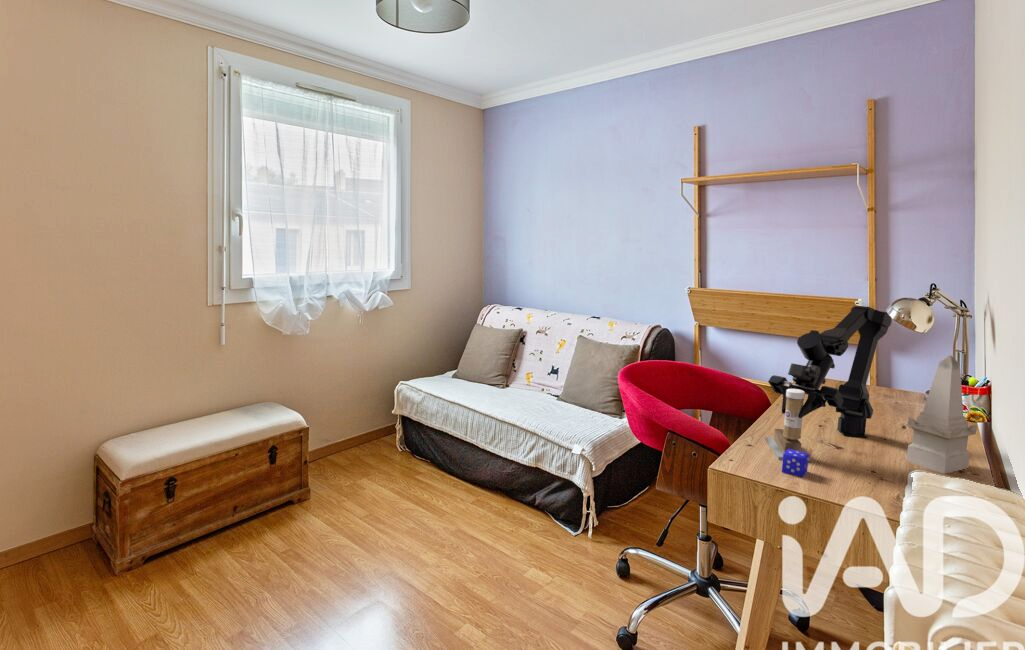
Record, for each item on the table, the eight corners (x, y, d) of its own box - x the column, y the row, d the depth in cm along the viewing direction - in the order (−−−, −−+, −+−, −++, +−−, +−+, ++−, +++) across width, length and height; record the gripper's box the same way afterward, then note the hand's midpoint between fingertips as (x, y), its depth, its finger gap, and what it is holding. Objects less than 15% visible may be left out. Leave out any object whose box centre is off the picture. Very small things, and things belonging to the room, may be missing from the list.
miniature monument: (970, 469, 144) (986, 357, 140) (944, 474, 140) (959, 359, 136) (928, 455, 154) (941, 350, 150) (903, 459, 150) (916, 352, 146)
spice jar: (779, 436, 153) (782, 389, 151) (789, 433, 155) (792, 387, 153) (794, 441, 149) (798, 393, 147) (804, 438, 151) (808, 391, 149)
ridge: (793, 442, 163) (795, 428, 162) (810, 462, 147) (811, 447, 147) (764, 439, 164) (765, 425, 164) (778, 459, 149) (779, 444, 148)
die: (786, 466, 144) (787, 448, 144) (807, 471, 141) (808, 453, 141) (781, 472, 140) (783, 453, 140) (803, 477, 137) (804, 458, 137)
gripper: (774, 347, 158) (748, 390, 154) (841, 359, 143) (815, 406, 139) (787, 370, 164) (763, 412, 159) (853, 384, 148) (829, 430, 144)
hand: (790, 415), depth 150 cm, fingers closed on spice jar, 4 cm apart
